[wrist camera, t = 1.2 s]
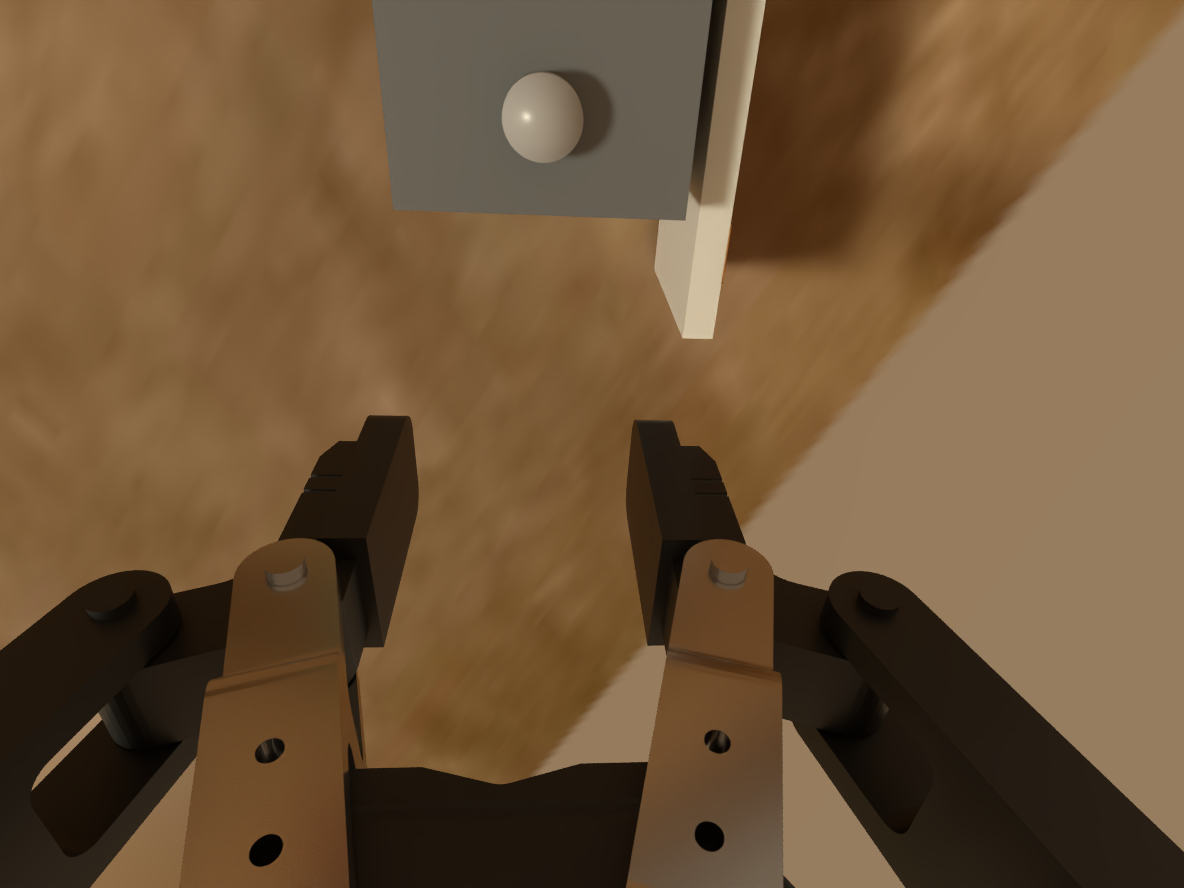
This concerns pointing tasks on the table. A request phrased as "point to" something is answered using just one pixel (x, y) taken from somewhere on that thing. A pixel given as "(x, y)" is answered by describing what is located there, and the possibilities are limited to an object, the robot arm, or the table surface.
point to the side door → (711, 171)
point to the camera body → (542, 104)
